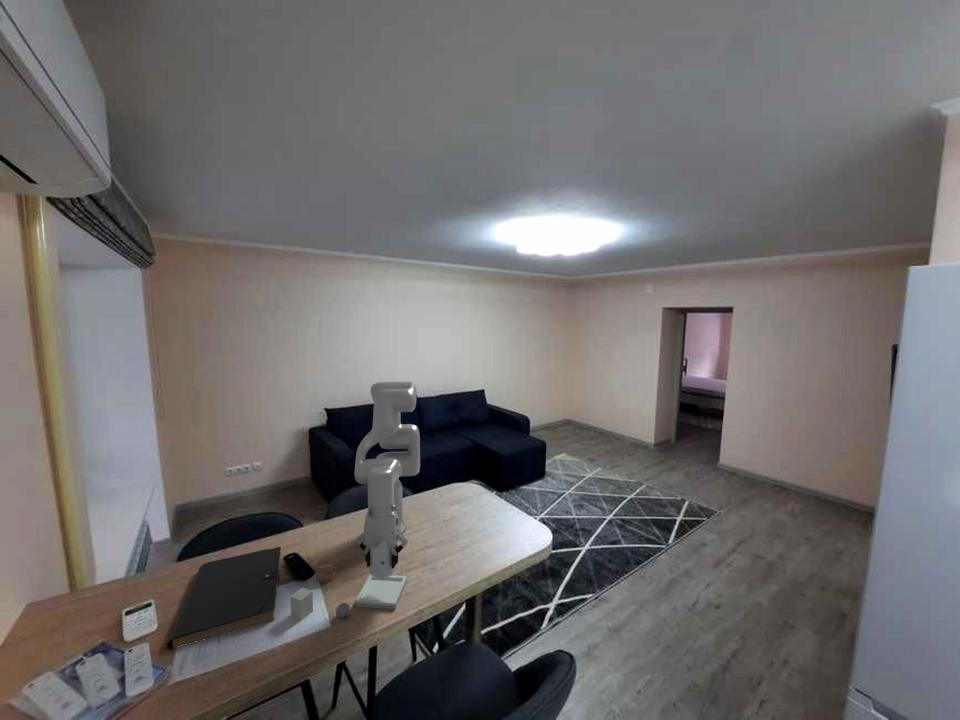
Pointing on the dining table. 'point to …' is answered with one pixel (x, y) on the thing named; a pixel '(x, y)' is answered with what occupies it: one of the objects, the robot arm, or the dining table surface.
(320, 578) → the walnut cube
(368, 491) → the robot arm
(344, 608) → the grey ball
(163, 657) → the dining table surface
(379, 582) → the tray
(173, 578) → the dining table surface
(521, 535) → the dining table surface
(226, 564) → the file folder
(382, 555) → the skincare box
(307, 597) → the sage block
